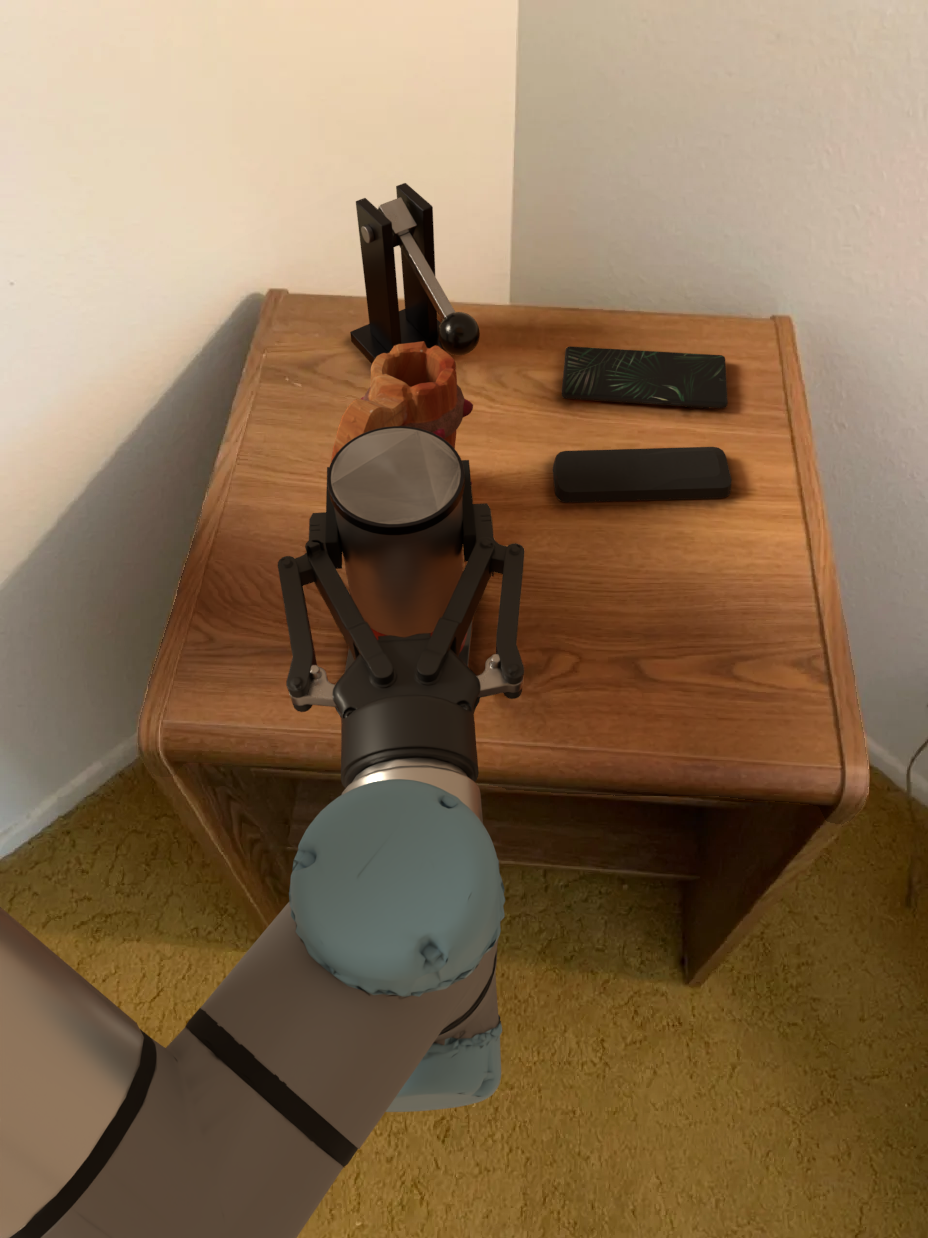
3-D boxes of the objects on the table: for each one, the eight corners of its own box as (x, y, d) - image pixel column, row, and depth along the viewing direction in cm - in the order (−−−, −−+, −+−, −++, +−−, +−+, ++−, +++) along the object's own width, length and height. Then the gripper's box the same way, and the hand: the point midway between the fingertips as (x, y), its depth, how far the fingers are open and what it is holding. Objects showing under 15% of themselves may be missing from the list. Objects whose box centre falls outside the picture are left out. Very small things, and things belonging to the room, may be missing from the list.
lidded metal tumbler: (341, 637, 64) (317, 523, 54) (356, 543, 68) (337, 423, 58) (461, 642, 63) (460, 530, 53) (468, 547, 68) (468, 428, 58)
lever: (480, 353, 81) (492, 334, 78) (446, 369, 80) (456, 350, 76) (401, 214, 81) (409, 189, 78) (365, 228, 80) (372, 203, 77)
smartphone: (565, 344, 88) (725, 354, 87) (565, 353, 89) (723, 362, 88) (561, 393, 84) (728, 404, 83) (560, 402, 85) (726, 412, 84)
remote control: (555, 507, 79) (733, 498, 78) (556, 493, 77) (737, 483, 77) (551, 465, 81) (722, 455, 81) (551, 450, 80) (726, 441, 79)
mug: (402, 464, 81) (399, 309, 70) (484, 496, 79) (494, 340, 67) (305, 567, 73) (284, 409, 61) (394, 607, 70) (389, 449, 59)
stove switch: (459, 350, 89) (456, 207, 77) (388, 381, 87) (374, 239, 75) (420, 312, 93) (412, 169, 80) (351, 341, 90) (331, 199, 78)
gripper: (231, 826, 53) (255, 521, 66) (593, 802, 53) (548, 505, 66) (200, 769, 47) (233, 445, 59) (610, 744, 47) (556, 429, 60)
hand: (399, 477), depth 63 cm, fingers closed on lidded metal tumbler, 8 cm apart
